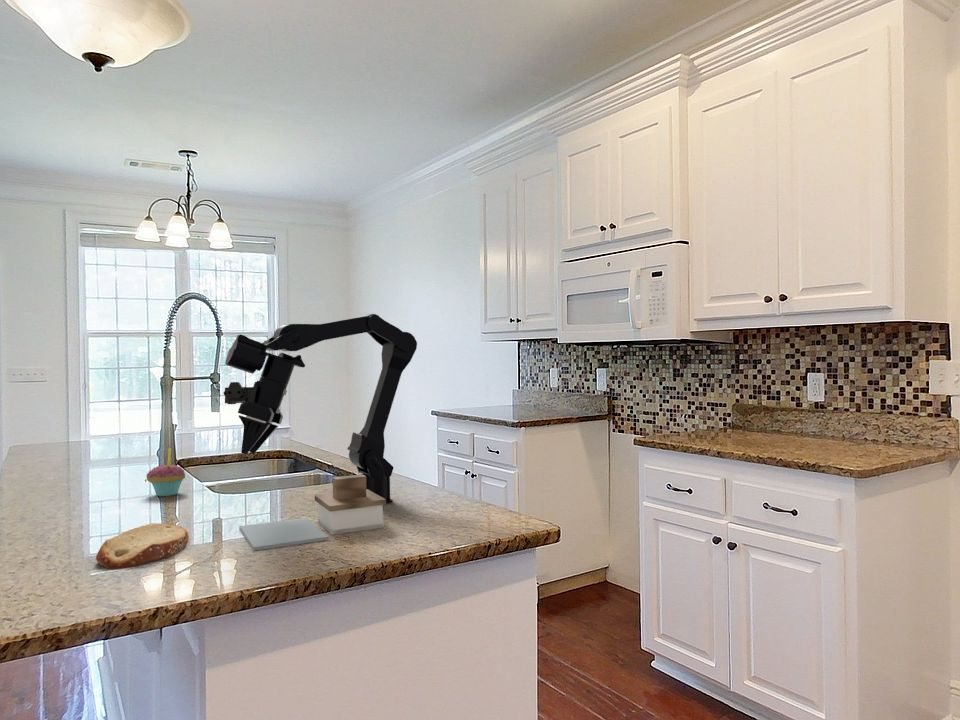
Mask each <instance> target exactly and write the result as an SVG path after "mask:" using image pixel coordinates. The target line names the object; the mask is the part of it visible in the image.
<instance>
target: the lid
mask: <svg viewBox="0 0 960 720" xmlns="http://www.w3.org/2000/svg"><path fill="white" fill-rule="evenodd" d="M360 474H361V475H359V474H353V475H343V476H342V475H340V476H333V477H332V492H330V493H322V494H315V495H314V501H315V502H316V503H317V504H318V503H319V504H320V505H322V506H323V507H324V508H326V509H327V510H328V511H338V510H347V509H355V508H363V507H371V506H379V505H383V506H385V505H387V503H386V499H384V498H383V497H381V496H379V495H377V494H375V493H374V492H372V491H370V490H368V489H366V476H364V475H362V473H360Z"/></svg>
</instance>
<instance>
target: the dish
mask: <svg viewBox="0 0 960 720" xmlns="http://www.w3.org/2000/svg"><path fill="white" fill-rule="evenodd" d="M383 508H384V505H379V506H371V507H363V508H355V509H347V510H338V511H328V510H327V509H326V508H324V507H323V506H322V505H320V504H319V503H318V502H317V523H318V524H319V525H320V526H321V527H322V528H324V529H325V530H326V532H328V533H329V534H330V535H332V536H333V535H341V534H347V533H354V532H355V533H356V532H360V531H369V530H377V529H383V528H384V509H383Z"/></svg>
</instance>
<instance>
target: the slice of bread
mask: <svg viewBox="0 0 960 720" xmlns="http://www.w3.org/2000/svg"><path fill="white" fill-rule="evenodd" d="M189 542H190V540H189V533H188V531H187V529H186V528H184V527H182V526H180V525H176V524H169V523H163V522H162V523H156V522H154V523H148V524H145V525H141V526H139V527H135V528H134V527H133V528H131V529H128V530H127V531H124V532H122V533H119V534H118V535H115V536H113V537H112V538H108V539H106V540H105V541H104V542H103V543H102V545H101V546H100V548H99V550H98V552H97V554H96V556H95V560H96V562H97V563H98V564H99V565H100V566H101V567H103V568H105V569H107V570H118V569H119V570H120V569H129V568H135V567H139V566H141V565H144V564H148V563H152V562H156V561H160V560H163V559H165V558H168V557H171V556H172V555H174V554H176V553H178V552H180V551H181V550H183V549H185V547H186V545H187V544H188V543H189Z"/></svg>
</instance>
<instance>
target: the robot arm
mask: <svg viewBox="0 0 960 720" xmlns="http://www.w3.org/2000/svg"><path fill="white" fill-rule="evenodd" d="M364 333H365V334H366V333H367V334H368V335H369V336H370V337H371V338H372V339H373V340H374V341H375V342H376V343H378V344H379V345H381V346H382V348H381V349H382V350H381V364H382V367H381V371H380V374H379V378H378V380H377V384H376V387H375V389H374V394H373V396H372V400H371V404H370V407H369V410H368V412H367V417H366V420H365V423H364V426H363V428H362V429H361V430H360V432H359V433H358V432H352V435H351V438H350V439H351V440H350V444H349V445H348V447H347V450H348V451H349V452H348V458H349V460H350V462H351V463H352V464H353V466H355V467H356V469H357V472H358V473H359V474H358V475H361V474H362V475H364V476H366V489H368V490H370V491H372V492H374V493H375V494H377V495H379V496H381V497H383V498H384V499H386V504H388V503H393V502H394V499H392V498H391V476H392V474H393V471H394V466H393V465H392V464H391V463H390V462H389V461H388V460H386V459H385V458H384V455H385V454H384V453H385V448H386V447H385V444H386V443H385V442H386V441H385V430H386V426H387V423H388V419H389V416H390V412H391V410H392V406H393V404H394V399H395V396H396V394H397V390H398V387H399V383H400V380H401V376H402V373H403V371H404V370H405V369H406V368H407V366H409V364H410V363H411V361H412V359H413V357H414V355H415V353H416V350H417V347H418V341H417V340H416V338H415V336H414V335H413V334H412V333H410V332H407V331H403V330H402V329H400V327H396V325H393V324H392V323H390V322H388V321H386V320H385V319H383V318H382V317H381V316H379V315H378V314H375V313H370V314H364V315H362V316H357V317H352V318H348V319H340V320H336V321H330V322H325V323H316V324H314V323H289V324H283V325H280V326H277V328H276V330H274V333H273V336H271V337H269V338H268V339H267V340H264V341H263V342H261V341H257V340H254V339H251V338H249V337H247V336H245V335H243V334H237V335H236V338H235V340H234V341H233V343H232V345H231V347H230V348H229V349H228V352H227V355H226V359H225V362H224V365H225V366H227V367H231V368H234V369H236V370H240V371H242V372H246V373H249V374H252V375H253V374H255V372H256V371H259V372H260V371H261V370H262V372H261V374H260V377H259V380H256V381H255V382H254V384H253V386H242V385H241V383H240V382H239V381H231V382H230V383H229V385H228V387H224V391H223V396H224V404H227V405H236V404H240V405H239V408H238V410H237V413H238V414H240V415H238V418H239V420H240V421H241V422H242V424H243V431H242V433H243V434H242V441H241V451H240V452H241V454H243V455H247V454H248V453H250V454H255V453H256V452H258V450H260V448H261V447H262V445H264V443H265V442H266V441H267V440H268V439H269V437H271V435H272V434H273V433H274V432H275V431H276V429H278V428H279V425H281V424H282V421H283V418H284V415H283V414H282V411H281V408H280V407H281V404H282V401H283V400H284V399H283V398H284V396H286V395H287V392H288V390H287V387H288V384H289V382H290V379H291V377H292V374H293V371H294V368H295V367H296V368H305V367H306V364H305V362H304V361H303V359H302V356H301V354H296V355H294V356H292V355H290V354H287V353H284V352H297V351H301V350H303V349H306V348H308V347H311V346H313V345H315V344H318V343H320V342H323V341H328V340H332V339H337V338H339V339H340V338H343V337H347V336H354V335H358V334H364ZM268 351H269V352H268ZM270 351H275V352H276V351H282V352H280V353H279V354H278V355H276V354H273V353H270ZM274 423H275V424H274ZM276 424H277V425H276Z"/></svg>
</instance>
